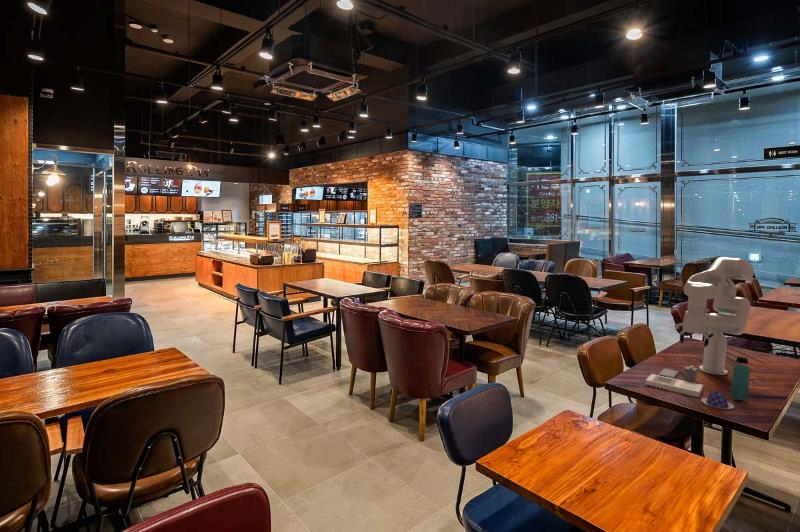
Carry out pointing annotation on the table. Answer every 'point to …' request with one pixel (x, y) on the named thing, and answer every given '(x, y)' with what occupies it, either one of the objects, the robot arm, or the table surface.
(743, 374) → the beverage bottle
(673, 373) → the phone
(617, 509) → the table surface
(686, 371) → the charger
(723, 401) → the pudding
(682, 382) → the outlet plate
